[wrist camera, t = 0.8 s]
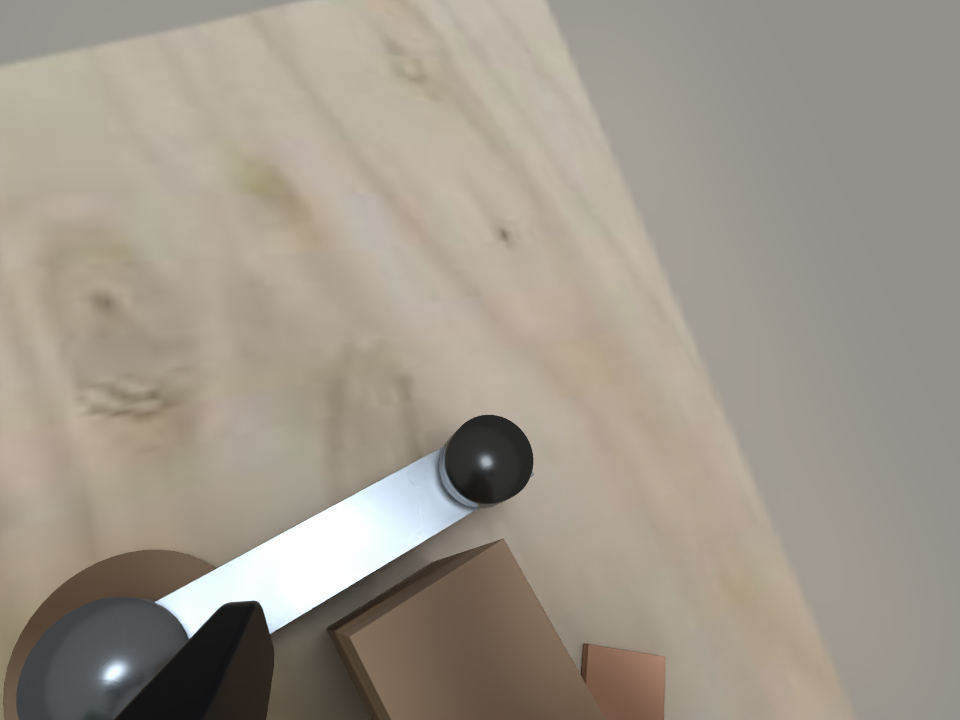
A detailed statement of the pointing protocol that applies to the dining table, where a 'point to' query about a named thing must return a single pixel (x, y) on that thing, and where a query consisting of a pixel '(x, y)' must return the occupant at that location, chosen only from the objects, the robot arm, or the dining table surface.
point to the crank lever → (271, 574)
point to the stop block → (462, 647)
